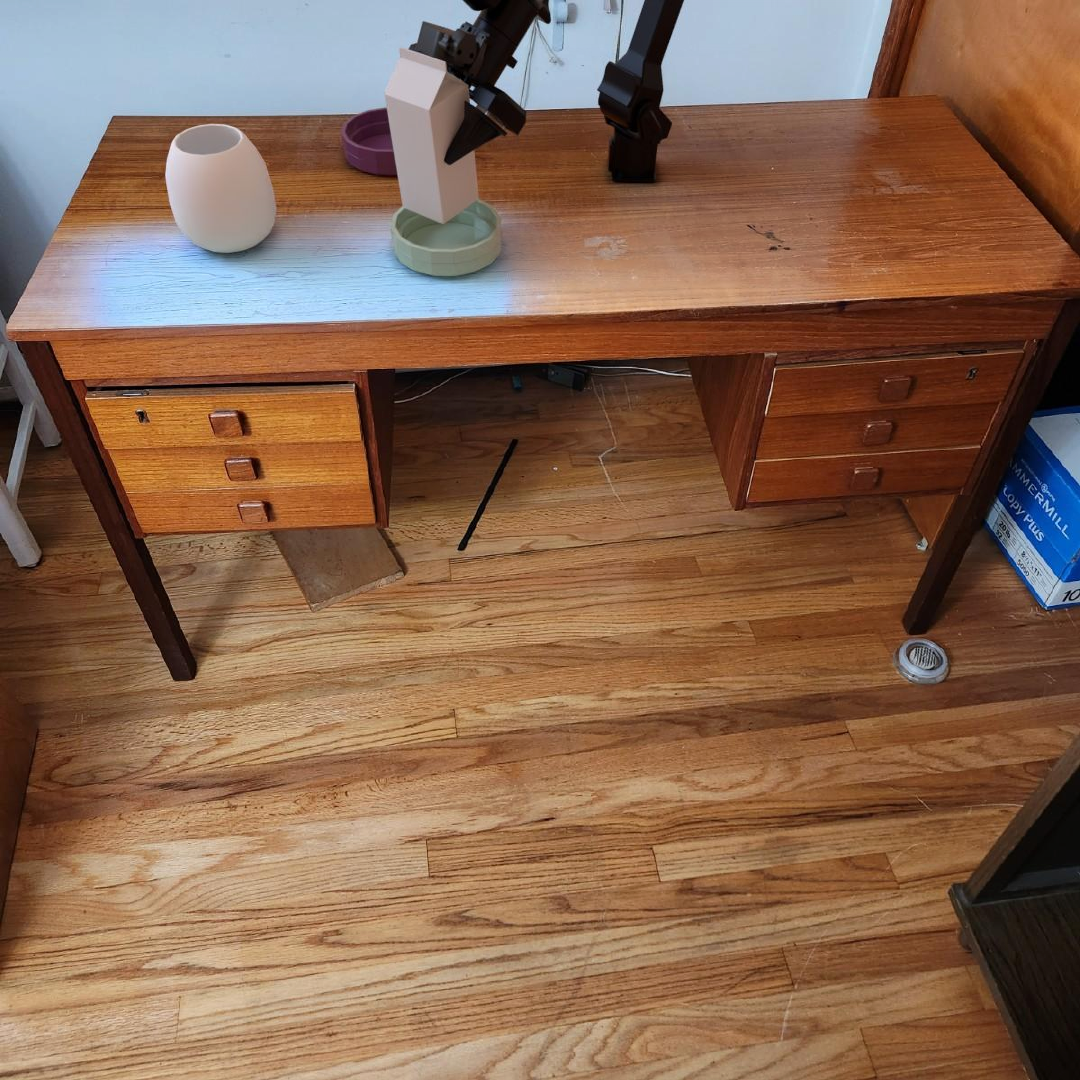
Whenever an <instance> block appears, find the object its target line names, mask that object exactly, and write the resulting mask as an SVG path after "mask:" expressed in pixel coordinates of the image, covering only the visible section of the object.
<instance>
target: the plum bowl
mask: <svg viewBox="0 0 1080 1080" xmlns="http://www.w3.org/2000/svg"><path fill="white" fill-rule="evenodd" d="M340 136H341V143H342V150H343V151H342V152H343V156H344V157H345V159H346V160H347V163H348V164H349V165H351V167H352V166H353V167H354V168H356V169H358V170H359V171H362V172H365V173H368V174H372V175H378V176H389V177H390V176H398V174H397V168H396V162H395V156H394V150H393V143H392V137H391V131H390V125H389V119H388V112H387V106H385V107H380V108H373V109H367V110H365V111H362V112H359V113H357V114H354V115H352V116H351V117H350V118H348V119H347V120H346V121H345V122H344V123H342V127H341V132H340Z"/></svg>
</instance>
